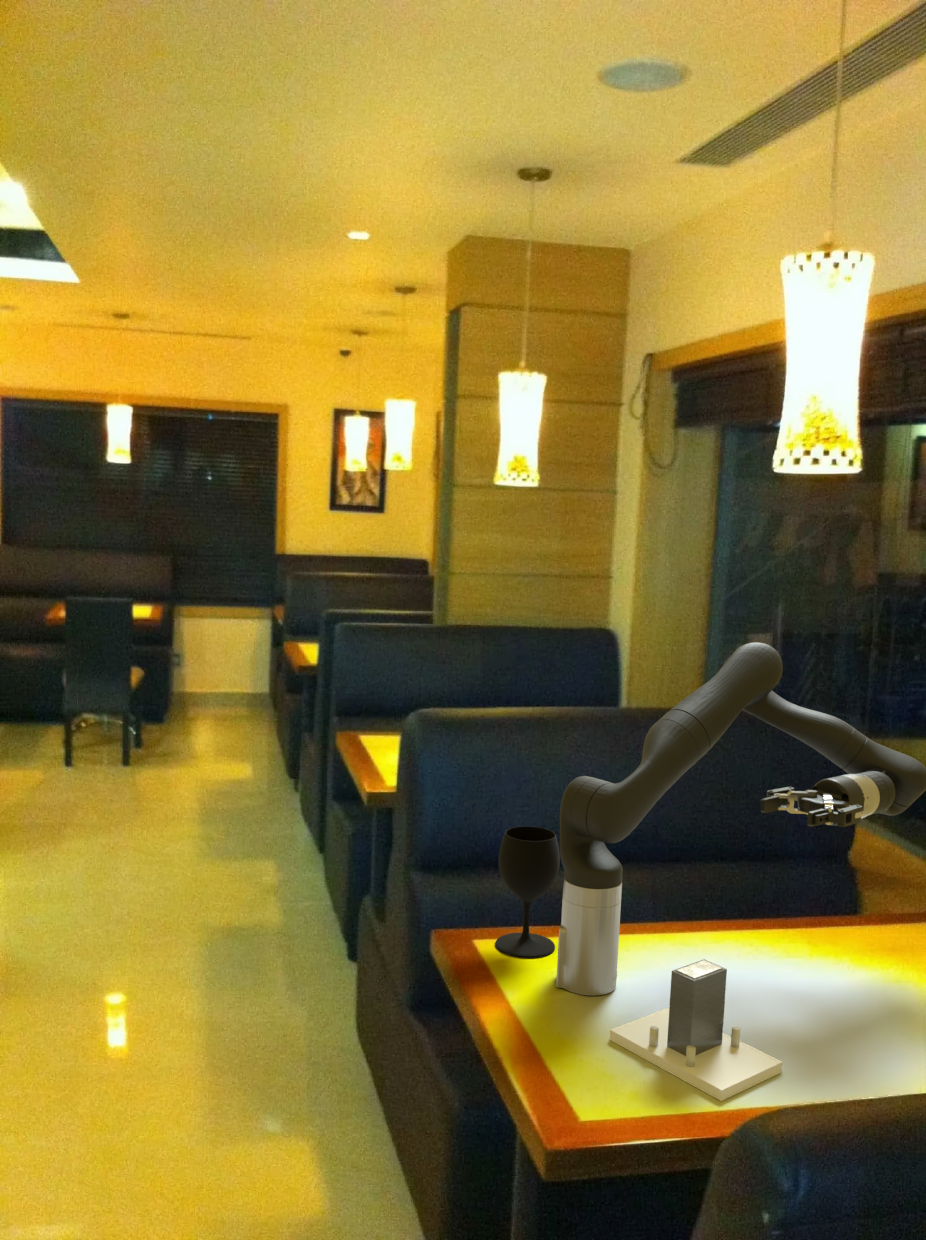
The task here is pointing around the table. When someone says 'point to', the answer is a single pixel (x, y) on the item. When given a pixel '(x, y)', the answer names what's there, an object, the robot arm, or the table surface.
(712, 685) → the robot arm
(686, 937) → the table surface
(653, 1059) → the peg board
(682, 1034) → the grey rectangular block
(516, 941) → the wine glass
